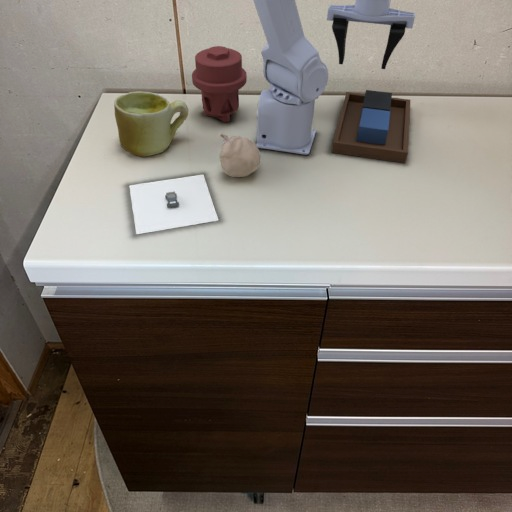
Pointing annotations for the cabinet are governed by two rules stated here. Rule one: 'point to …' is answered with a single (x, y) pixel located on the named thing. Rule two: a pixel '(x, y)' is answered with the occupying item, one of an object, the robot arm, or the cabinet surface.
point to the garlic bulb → (239, 156)
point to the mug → (147, 122)
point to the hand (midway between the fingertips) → (362, 64)
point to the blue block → (373, 126)
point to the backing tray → (390, 151)
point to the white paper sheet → (171, 204)
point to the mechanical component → (219, 80)
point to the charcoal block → (377, 100)
